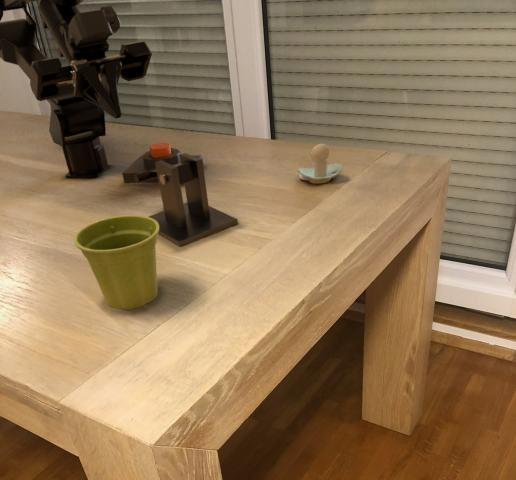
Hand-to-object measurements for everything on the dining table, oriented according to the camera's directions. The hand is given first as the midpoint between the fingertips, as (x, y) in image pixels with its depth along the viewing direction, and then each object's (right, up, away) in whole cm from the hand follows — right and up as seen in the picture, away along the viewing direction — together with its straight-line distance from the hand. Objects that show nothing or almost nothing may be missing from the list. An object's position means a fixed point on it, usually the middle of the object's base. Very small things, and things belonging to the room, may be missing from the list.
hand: (118, 116), depth 87 cm
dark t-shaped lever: (+8, -11, -4) cm, 15 cm away
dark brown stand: (+11, -18, -3) cm, 21 cm away
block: (+5, -4, +15) cm, 17 cm away
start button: (+4, -2, +13) cm, 14 cm away
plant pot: (+6, -29, -19) cm, 35 cm away
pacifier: (+32, -7, +8) cm, 33 cm away
